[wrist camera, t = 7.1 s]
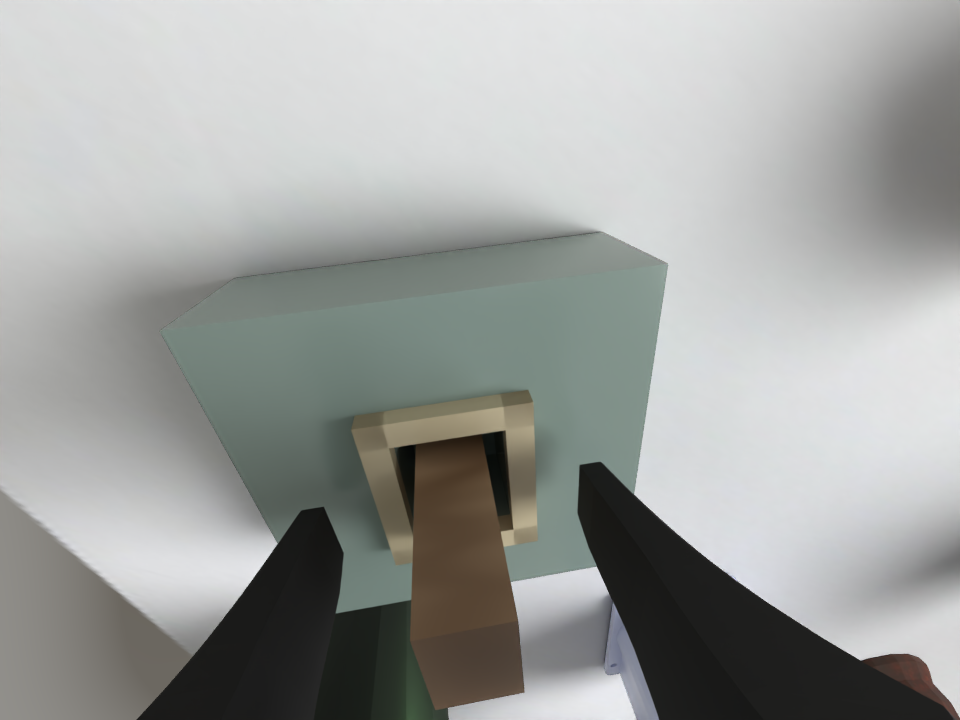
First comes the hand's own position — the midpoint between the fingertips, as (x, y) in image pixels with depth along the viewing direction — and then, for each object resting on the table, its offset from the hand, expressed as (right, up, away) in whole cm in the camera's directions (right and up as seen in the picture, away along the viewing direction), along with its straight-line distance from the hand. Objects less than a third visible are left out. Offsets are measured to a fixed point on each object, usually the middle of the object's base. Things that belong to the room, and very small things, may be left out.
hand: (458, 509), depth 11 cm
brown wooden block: (-1, +2, +4) cm, 4 cm away
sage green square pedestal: (-1, +3, +5) cm, 5 cm away
